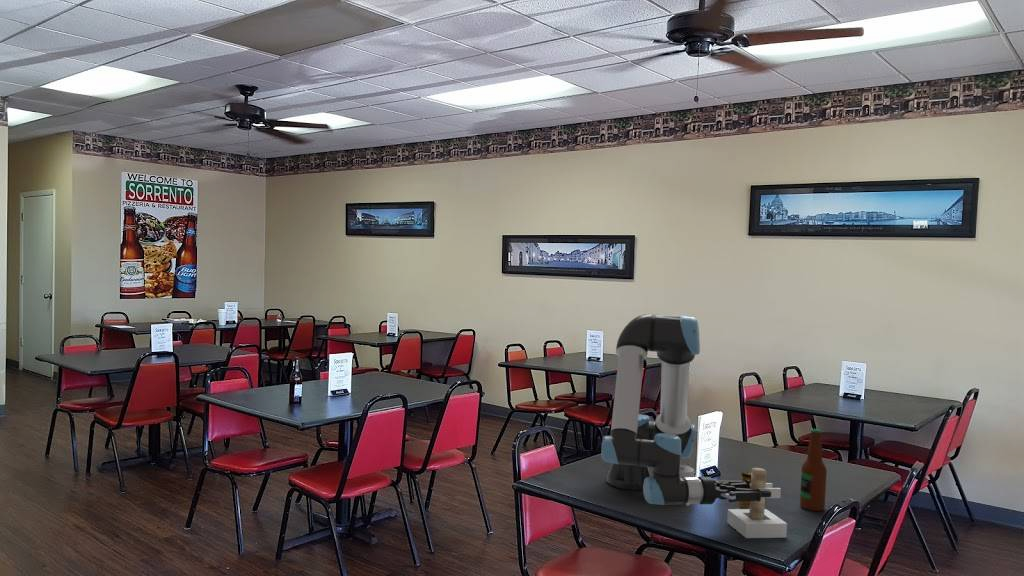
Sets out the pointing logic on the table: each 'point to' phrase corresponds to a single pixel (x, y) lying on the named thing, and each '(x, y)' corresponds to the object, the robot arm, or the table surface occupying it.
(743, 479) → the condiment
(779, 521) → the socket
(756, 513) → the dowel
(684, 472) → the toilet tissue
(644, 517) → the table surface
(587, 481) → the table surface
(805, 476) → the bottle
